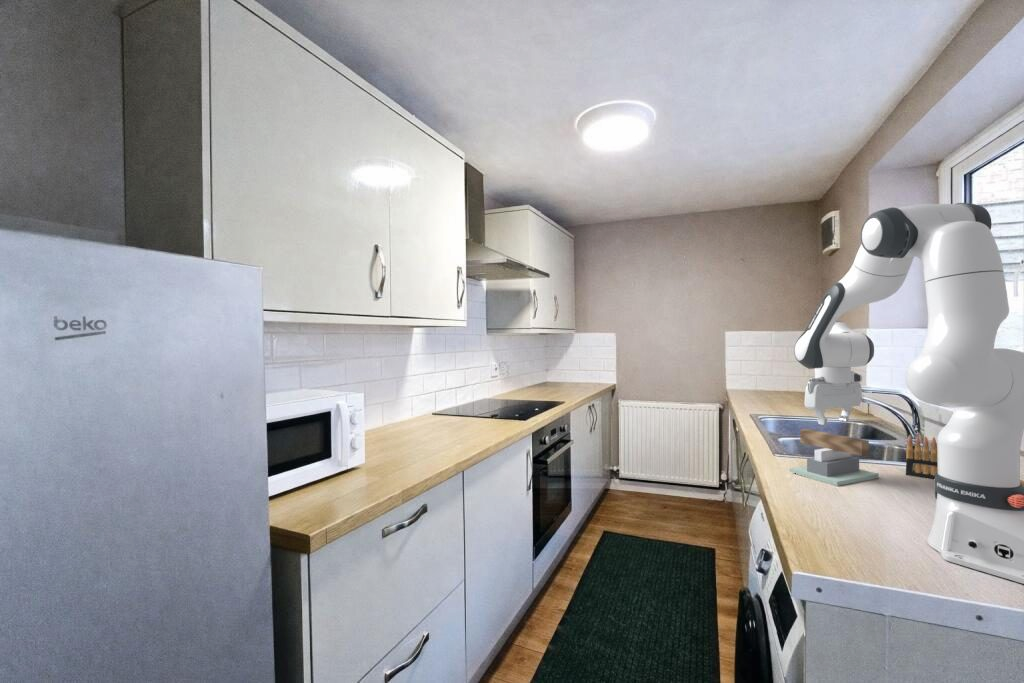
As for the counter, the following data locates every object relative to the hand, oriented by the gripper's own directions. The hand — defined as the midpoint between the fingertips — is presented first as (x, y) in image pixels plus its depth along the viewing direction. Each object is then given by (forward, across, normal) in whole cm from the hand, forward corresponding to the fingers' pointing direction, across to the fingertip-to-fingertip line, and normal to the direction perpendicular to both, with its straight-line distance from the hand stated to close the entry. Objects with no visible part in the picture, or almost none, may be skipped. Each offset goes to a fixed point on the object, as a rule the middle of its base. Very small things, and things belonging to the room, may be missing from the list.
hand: (833, 423), depth 136 cm
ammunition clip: (+16, +22, -12) cm, 30 cm away
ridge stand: (+16, 0, 0) cm, 16 cm away
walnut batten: (+8, 0, 0) cm, 8 cm away
